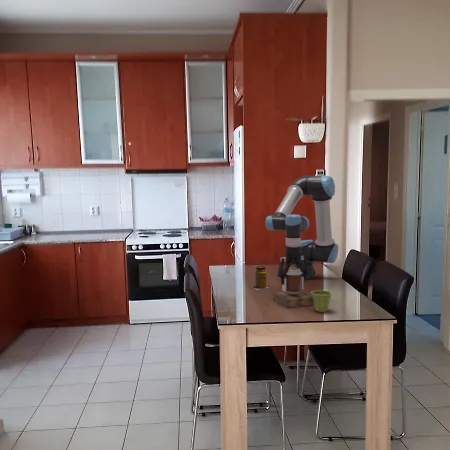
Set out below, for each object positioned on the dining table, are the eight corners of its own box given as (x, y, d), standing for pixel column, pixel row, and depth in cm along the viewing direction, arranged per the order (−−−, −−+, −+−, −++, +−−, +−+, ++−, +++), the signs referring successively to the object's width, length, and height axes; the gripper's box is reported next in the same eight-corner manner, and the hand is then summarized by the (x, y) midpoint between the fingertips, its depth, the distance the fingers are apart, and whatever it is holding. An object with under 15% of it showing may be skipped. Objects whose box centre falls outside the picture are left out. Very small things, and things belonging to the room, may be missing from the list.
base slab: (298, 297, 240) (298, 289, 240) (313, 304, 226) (313, 296, 226) (272, 300, 235) (272, 292, 235) (286, 308, 221) (286, 300, 221)
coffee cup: (288, 295, 225) (288, 271, 223) (280, 290, 233) (281, 267, 232) (305, 293, 227) (305, 269, 226) (297, 289, 236) (297, 266, 234)
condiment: (269, 287, 261) (269, 267, 259) (257, 290, 256) (257, 269, 255) (261, 285, 267) (261, 265, 265) (249, 287, 262) (249, 266, 261)
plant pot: (308, 308, 221) (309, 290, 220) (327, 307, 222) (328, 289, 221) (314, 313, 212) (314, 295, 211) (334, 313, 213) (334, 294, 212)
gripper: (308, 243, 235) (308, 286, 237) (270, 246, 227) (270, 290, 230) (316, 245, 228) (315, 289, 230) (276, 248, 220) (276, 294, 223)
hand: (292, 290), depth 230 cm, fingers closed on coffee cup, 9 cm apart
